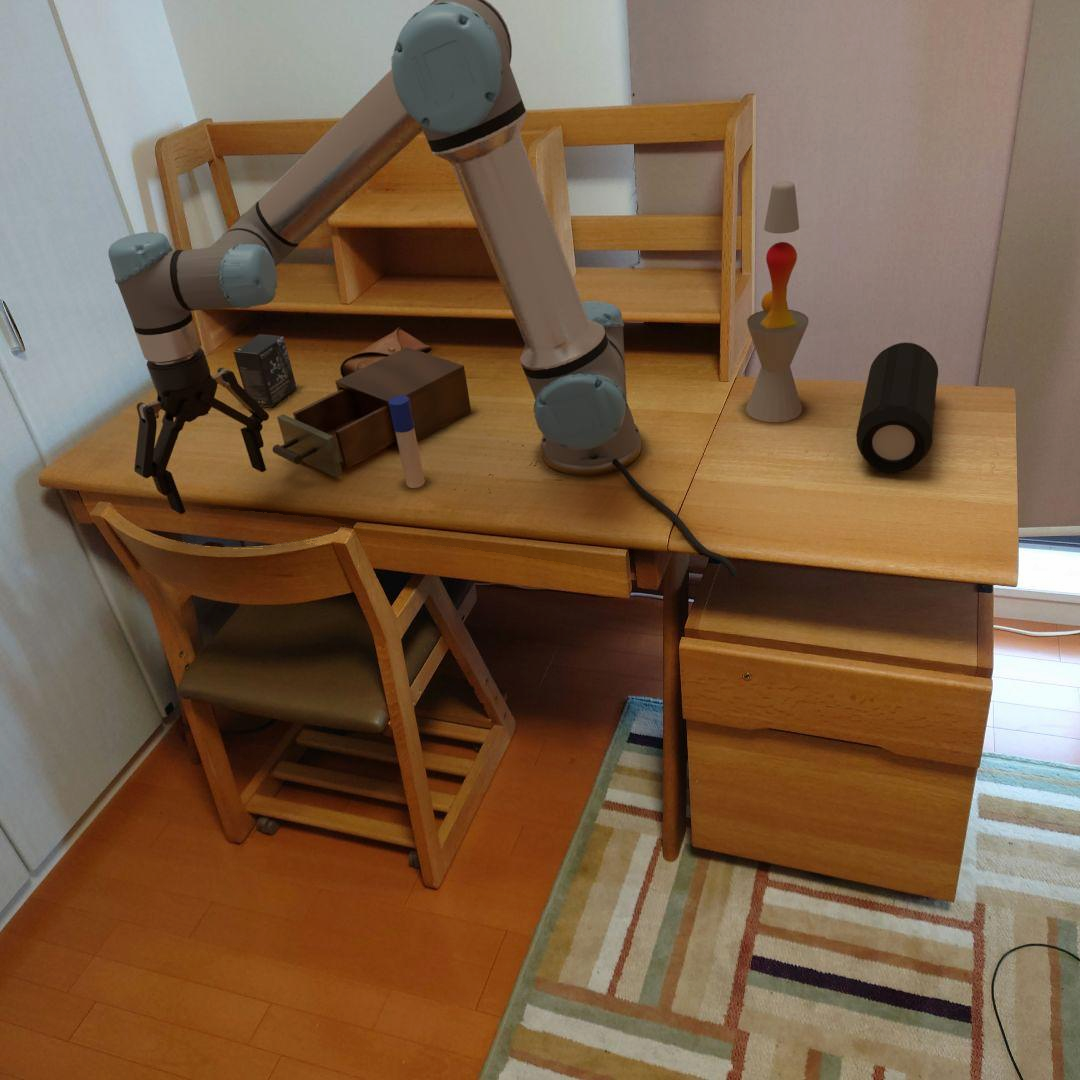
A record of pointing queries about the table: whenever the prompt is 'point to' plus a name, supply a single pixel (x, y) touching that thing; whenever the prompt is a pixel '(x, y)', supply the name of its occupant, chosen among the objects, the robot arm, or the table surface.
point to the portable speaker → (898, 408)
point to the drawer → (336, 432)
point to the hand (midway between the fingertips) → (220, 489)
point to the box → (265, 369)
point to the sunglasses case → (381, 351)
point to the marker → (406, 440)
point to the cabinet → (415, 388)
